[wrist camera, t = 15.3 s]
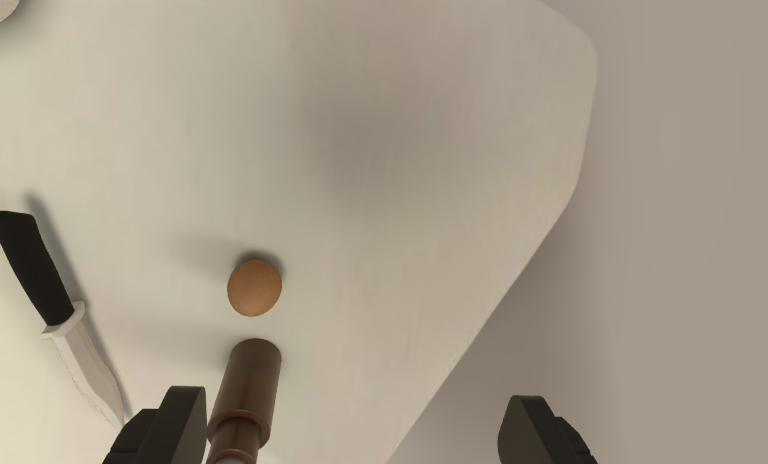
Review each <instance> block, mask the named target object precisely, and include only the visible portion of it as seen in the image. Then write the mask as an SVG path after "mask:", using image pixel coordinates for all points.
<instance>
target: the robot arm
mask: <svg viewBox="0 0 768 464" xmlns="http://www.w3.org/2000/svg"><path fill="white" fill-rule="evenodd" d="M206 441H207V414H206V393H205V388H204V387H197V386H171V387H170V388H169V389H168V391H167V393H166V395H165V397H164V399H163V401H162V403H161V405H160V407H159V409H142V410H141V411H140V412H139V413H138V414H137V415H135V416H134V417H133V418H132V419H131V420H130V421H129V422H128V423H127V424H126V425H124V426H123V428H122V429H121V431H120V433H119V435H118V436H117V438H116V440H115V442H114V444H113V445H112V447H111V450H110V453H108V454H107V456H106V458H105V459H104V461H103V463H102V464H201V462H202V459H203V456H204V452H205V447H206ZM497 443H498V453H499V458H500V461H501V463H502V464H598V463H597V461H596V460H595V458H594V457H593V456H591V454H590V450H589V449H588V447H587V446H586V444H585V442H584V441H583V439H582V438H581V436H580V434H579V433H578V432H577V431H576V430H575V429H574V428H573V427H572V426H571V425H570V424H569V423H567V422H566V421H565V420H564V419H563V418H562V417H555V416H554V414H553V412H552V411H551V409H550V407H549V406H548V404H547V402H546V401H545V399H544V398H543V397H541V396H521V395H520V396H519V395H514V396H512V397H511V398H510V401H509V404H508V407H507V410H506V413H505V416H504V419H503V422H502V425H501V428H500V431H499V435H498V442H497Z"/></svg>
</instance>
